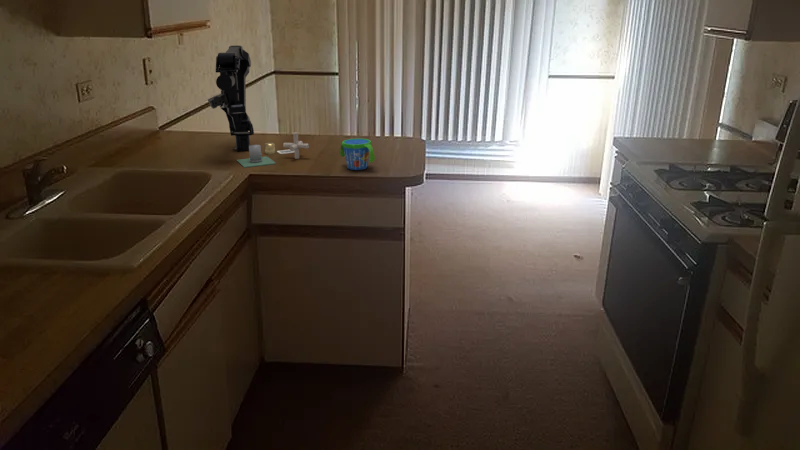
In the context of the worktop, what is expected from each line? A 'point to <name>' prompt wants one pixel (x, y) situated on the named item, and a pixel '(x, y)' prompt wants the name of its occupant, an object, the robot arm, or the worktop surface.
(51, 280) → the worktop surface
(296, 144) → the pipe connector
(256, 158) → the cylinder
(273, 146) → the brass fitting
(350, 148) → the snack cup
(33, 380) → the worktop surface
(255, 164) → the mat
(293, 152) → the label tile
